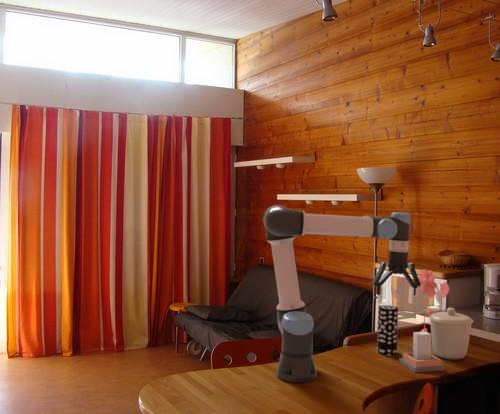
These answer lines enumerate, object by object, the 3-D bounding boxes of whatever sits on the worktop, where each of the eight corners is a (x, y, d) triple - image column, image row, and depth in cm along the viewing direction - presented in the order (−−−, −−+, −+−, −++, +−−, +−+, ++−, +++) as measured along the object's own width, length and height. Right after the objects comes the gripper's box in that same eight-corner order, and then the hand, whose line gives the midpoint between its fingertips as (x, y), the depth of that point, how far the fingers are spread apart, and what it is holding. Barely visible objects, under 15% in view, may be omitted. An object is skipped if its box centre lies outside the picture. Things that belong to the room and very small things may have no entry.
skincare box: (425, 360, 234) (426, 331, 233) (431, 363, 229) (432, 334, 229) (411, 360, 233) (412, 331, 232) (416, 364, 228) (417, 334, 228)
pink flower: (419, 335, 277) (420, 264, 275) (456, 350, 253) (458, 272, 252) (393, 339, 272) (394, 266, 270) (429, 354, 248) (430, 275, 246)
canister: (442, 347, 258) (443, 301, 257) (480, 357, 244) (482, 309, 243) (419, 354, 246) (420, 306, 246) (457, 365, 233) (459, 314, 232)
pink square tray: (414, 372, 223) (414, 362, 223) (399, 361, 236) (399, 352, 236) (444, 370, 226) (444, 360, 226) (427, 360, 239) (428, 350, 239)
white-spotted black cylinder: (398, 355, 244) (400, 309, 243) (379, 355, 244) (380, 309, 243) (394, 350, 252) (395, 305, 252) (375, 349, 253) (376, 305, 252)
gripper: (373, 251, 223) (370, 304, 224) (431, 252, 228) (428, 305, 229) (365, 248, 230) (362, 300, 231) (422, 250, 235) (418, 301, 236)
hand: (395, 303), depth 230 cm, fingers open, 13 cm apart
